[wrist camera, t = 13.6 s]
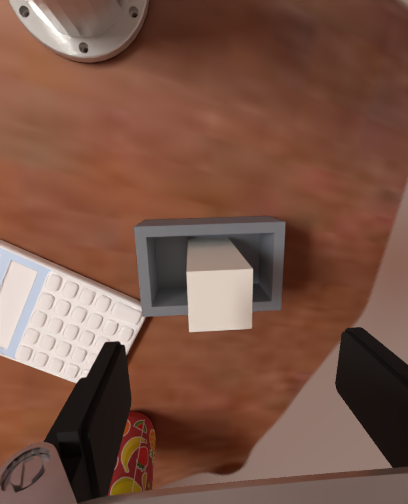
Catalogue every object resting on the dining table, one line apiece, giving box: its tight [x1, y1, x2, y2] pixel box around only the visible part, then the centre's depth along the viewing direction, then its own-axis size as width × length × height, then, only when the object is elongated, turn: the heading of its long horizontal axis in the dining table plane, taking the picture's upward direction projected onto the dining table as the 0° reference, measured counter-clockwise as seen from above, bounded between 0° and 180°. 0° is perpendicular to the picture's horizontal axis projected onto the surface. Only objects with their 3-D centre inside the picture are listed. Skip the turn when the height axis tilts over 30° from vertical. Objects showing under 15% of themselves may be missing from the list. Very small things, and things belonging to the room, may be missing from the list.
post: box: [186, 237, 253, 332], centre depth 23 cm, size 4×4×12 cm
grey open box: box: [134, 216, 286, 317], centre depth 27 cm, size 9×14×6 cm, turn 91°
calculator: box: [0, 240, 146, 383], centre depth 30 cm, size 13×20×2 cm, turn 62°
